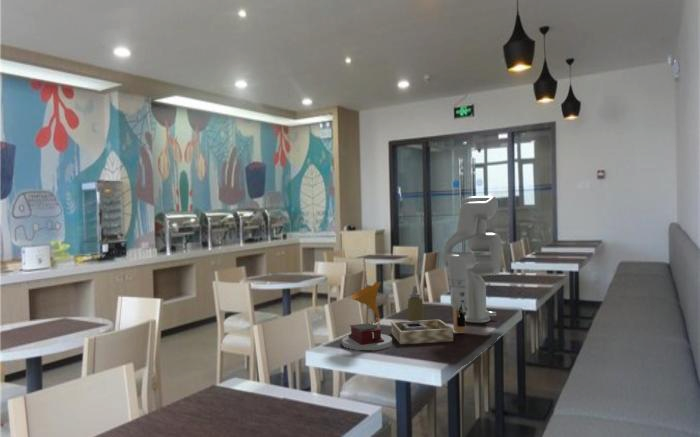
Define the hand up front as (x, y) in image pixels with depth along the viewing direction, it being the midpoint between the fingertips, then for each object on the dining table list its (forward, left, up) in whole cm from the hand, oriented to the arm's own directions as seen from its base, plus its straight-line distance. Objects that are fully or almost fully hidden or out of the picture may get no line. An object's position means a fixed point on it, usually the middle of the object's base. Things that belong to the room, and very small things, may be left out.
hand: (459, 324), depth 210 cm
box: (+17, +2, -4) cm, 18 cm away
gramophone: (+41, +7, -4) cm, 42 cm away
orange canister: (0, 0, -3) cm, 3 cm away
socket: (+20, +2, -4) cm, 21 cm away
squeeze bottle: (+13, -23, -4) cm, 27 cm away
